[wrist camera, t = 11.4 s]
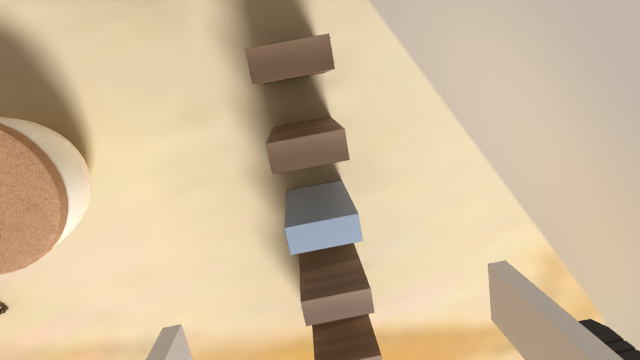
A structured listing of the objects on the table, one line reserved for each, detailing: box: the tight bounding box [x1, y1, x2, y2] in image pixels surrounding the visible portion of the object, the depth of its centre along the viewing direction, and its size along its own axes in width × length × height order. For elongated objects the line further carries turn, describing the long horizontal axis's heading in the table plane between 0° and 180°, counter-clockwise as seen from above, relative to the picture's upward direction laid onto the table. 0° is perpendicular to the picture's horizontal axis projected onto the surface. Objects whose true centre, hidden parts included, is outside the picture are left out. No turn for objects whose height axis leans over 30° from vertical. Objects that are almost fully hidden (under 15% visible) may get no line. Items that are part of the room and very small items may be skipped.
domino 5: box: [312, 314, 382, 360], centre depth 32 cm, size 2×5×9 cm, turn 100°
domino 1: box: [245, 34, 335, 84], centre depth 26 cm, size 2×5×9 cm, turn 100°
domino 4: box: [299, 243, 374, 326], centre depth 31 cm, size 2×5×9 cm, turn 100°
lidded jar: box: [0, 117, 92, 274], centre depth 27 cm, size 11×11×9 cm
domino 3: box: [285, 180, 363, 255], centre depth 29 cm, size 2×5×9 cm, turn 100°
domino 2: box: [266, 117, 349, 174], centre depth 28 cm, size 2×5×9 cm, turn 100°
